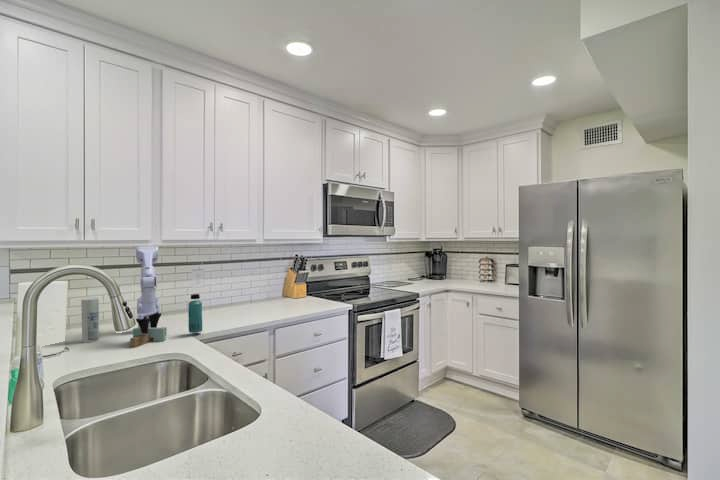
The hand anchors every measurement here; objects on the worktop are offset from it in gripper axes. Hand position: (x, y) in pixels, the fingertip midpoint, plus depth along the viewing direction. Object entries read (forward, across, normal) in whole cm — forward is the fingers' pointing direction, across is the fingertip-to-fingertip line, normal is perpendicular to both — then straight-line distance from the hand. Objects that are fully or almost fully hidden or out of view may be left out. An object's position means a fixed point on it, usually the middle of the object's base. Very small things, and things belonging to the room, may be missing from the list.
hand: (149, 331), depth 169 cm
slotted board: (+5, 0, 0) cm, 5 cm away
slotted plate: (+5, 0, 0) cm, 5 cm away
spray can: (+5, -2, -28) cm, 29 cm away
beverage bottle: (+5, -10, +17) cm, 20 cm away
